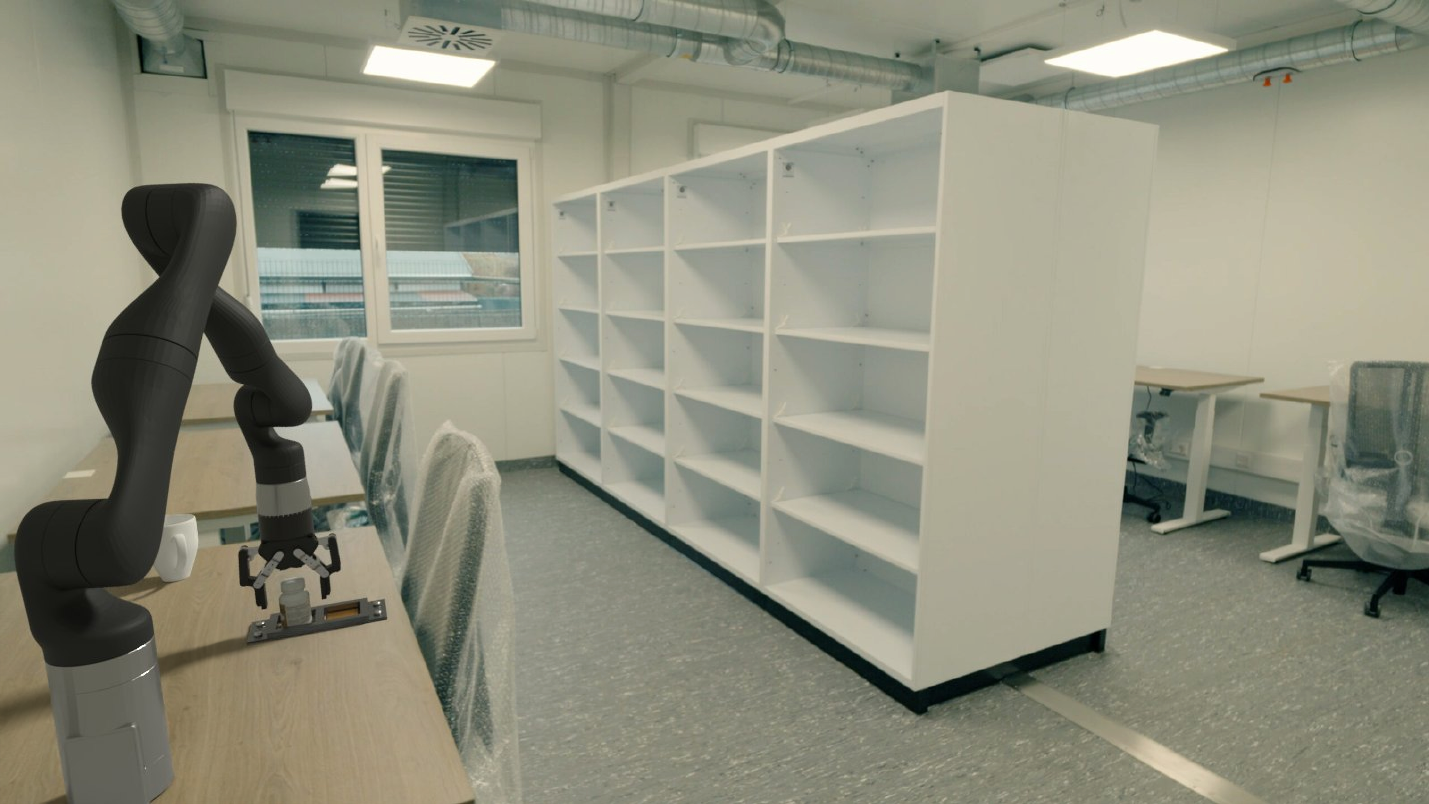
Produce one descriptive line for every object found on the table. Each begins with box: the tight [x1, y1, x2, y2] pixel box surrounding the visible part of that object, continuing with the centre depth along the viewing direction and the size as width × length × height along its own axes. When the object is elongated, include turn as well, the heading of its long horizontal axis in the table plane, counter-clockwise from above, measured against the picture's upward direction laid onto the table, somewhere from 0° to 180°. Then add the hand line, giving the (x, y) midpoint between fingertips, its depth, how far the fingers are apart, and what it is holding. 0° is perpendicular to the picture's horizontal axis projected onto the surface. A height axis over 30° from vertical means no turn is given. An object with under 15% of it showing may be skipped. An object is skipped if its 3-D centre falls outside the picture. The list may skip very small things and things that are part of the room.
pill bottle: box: [278, 576, 313, 628], centre depth 124 cm, size 4×4×8 cm
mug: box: [152, 513, 199, 583], centre depth 143 cm, size 12×8×11 cm
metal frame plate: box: [246, 597, 388, 646], centre depth 126 cm, size 8×20×1 cm, turn 116°
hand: (295, 602), depth 124 cm, fingers open, 8 cm apart
